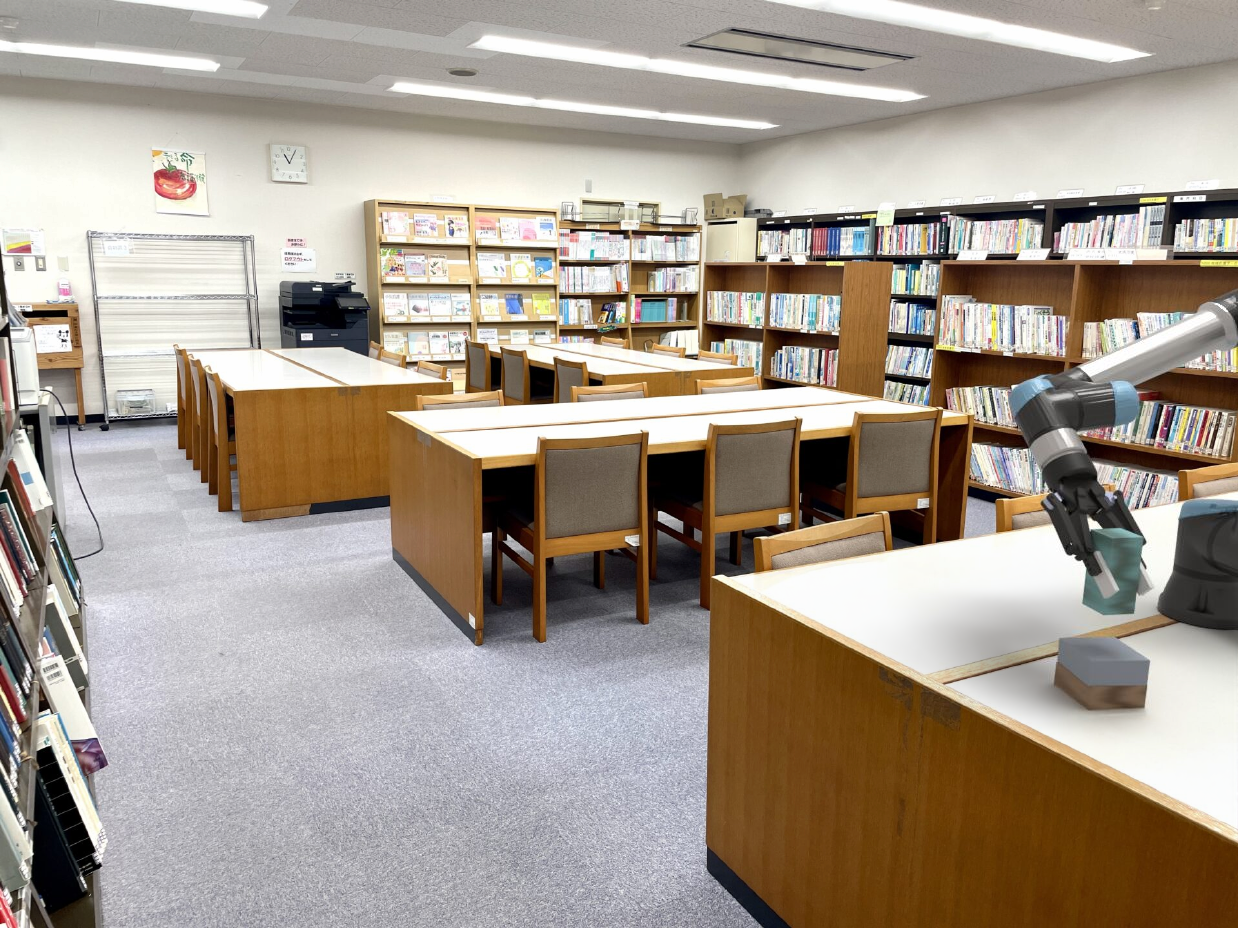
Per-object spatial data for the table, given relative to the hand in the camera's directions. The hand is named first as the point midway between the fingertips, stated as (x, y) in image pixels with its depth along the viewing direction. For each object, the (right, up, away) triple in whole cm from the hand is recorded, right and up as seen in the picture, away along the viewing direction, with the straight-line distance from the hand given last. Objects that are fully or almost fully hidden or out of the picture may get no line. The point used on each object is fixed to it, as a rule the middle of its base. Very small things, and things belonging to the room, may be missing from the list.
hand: (1129, 592), depth 131 cm
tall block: (-1, -3, +4) cm, 5 cm away
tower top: (-1, -13, +6) cm, 15 cm away
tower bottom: (-1, -17, +7) cm, 19 cm away
